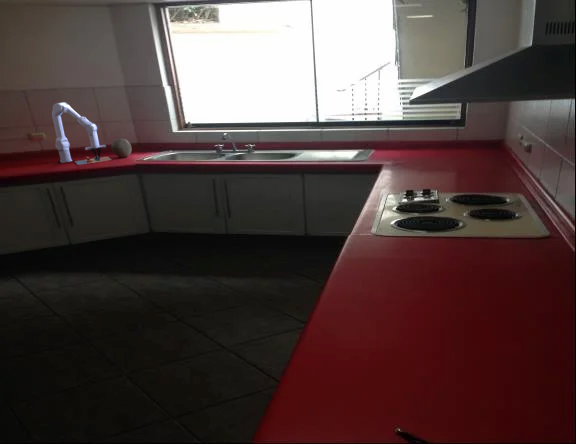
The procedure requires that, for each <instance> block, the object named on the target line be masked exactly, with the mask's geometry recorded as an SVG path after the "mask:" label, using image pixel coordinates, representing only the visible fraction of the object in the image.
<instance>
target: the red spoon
mask: <svg viewBox="0 0 576 444" xmlns="http://www.w3.org/2000/svg"><path fill="white" fill-rule="evenodd" d="M90 159H91V158H90V157H89V156H86V160H87V163H88V164H91V163H90V162H93V160H90Z"/></svg>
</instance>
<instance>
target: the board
mask: <svg viewBox="0 0 576 444" xmlns="http://www.w3.org/2000/svg"><path fill="white" fill-rule="evenodd" d="M90 160H93V162H90V163H87V159H81V160H75V161H74V163H75V164H76V165H77V166H81V165H87V164H93V163H94V164H95V163H101V162H107V161H113V160H112V158H110V157H109V156H102V157H101V156H100V161H98V160H97V159H94V158H90Z"/></svg>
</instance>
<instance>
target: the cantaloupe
mask: <svg viewBox="0 0 576 444" xmlns="http://www.w3.org/2000/svg"><path fill="white" fill-rule="evenodd" d="M111 150H112V152H113V154H114V155H115V156H117V158H119V159H120V158H121V159H123V158H128V157H129V156H130V155H131V154H132V145H131V143H130V142H129V140H127V139H126V138H116V139H114V140H113V141H112V143H111Z"/></svg>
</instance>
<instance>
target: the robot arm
mask: <svg viewBox="0 0 576 444" xmlns="http://www.w3.org/2000/svg"><path fill="white" fill-rule="evenodd" d="M63 114H69V115H70V116H72V117H73V118H74V119H76V120H77V122H78V123H79V124H80V125H81V126H82V127H83V128H85V130H86V132H87V133H88V137H89V143H90V146H86V147H84V150H85V151H89V150H90V151H92V153H93V155H94V157H96V159H97V156H98V157H99V158H101V152H102V149H107V145H106V144H100V141H99V137H98V132H97V131H98V126H97V125H96V124H95V123H93V122H92V121H90V120H88V119H87V117H86V116H81V115H80V114H79V113H78V112H76V111H75V109H73V108H72V107H71V105H70V104H68V102H65V101H62V102H56V103H54V104H53V105H52V111H51V117H52V121H53V126H54V130H55V131H54V132H55V135H56V139H55V145H54V146H55V149H56V150H57V151H58V154H59V158H60V160H59V162H60V163H61V164H63V163H69V162H73V159H72V156H71V153H70V147H71V144H70V142H69V140H68V138H67V137H66V133H65V131H64V130H65V129H64V125H63V120H62V117H61V116H62V115H63Z"/></svg>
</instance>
